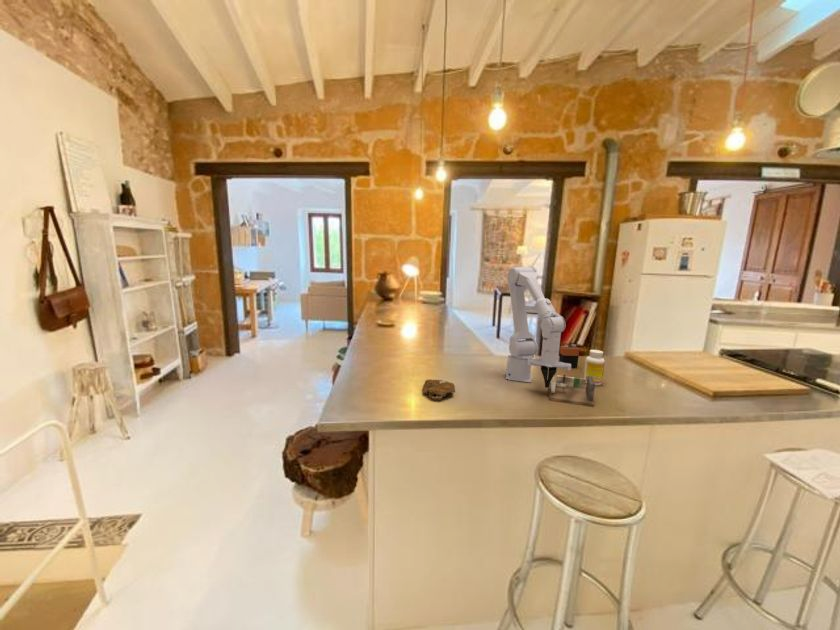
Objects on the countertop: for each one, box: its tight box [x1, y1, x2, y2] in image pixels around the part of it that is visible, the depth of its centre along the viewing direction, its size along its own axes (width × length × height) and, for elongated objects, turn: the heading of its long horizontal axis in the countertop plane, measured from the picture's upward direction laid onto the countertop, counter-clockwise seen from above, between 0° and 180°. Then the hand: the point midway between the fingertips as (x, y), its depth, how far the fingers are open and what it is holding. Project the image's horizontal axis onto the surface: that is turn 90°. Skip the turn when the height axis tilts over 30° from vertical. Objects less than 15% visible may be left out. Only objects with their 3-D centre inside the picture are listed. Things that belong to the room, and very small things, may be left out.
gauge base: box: [548, 375, 596, 407], centre depth 134 cm, size 14×15×7 cm
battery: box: [558, 343, 580, 369], centre depth 166 cm, size 4×7×10 cm, turn 93°
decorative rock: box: [422, 379, 456, 401], centre depth 132 cm, size 11×4×15 cm
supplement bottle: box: [583, 349, 606, 386], centre depth 146 cm, size 7×7×13 cm
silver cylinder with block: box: [550, 374, 568, 393], centre depth 136 cm, size 6×10×4 cm, turn 162°
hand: (546, 386), depth 135 cm, fingers closed
